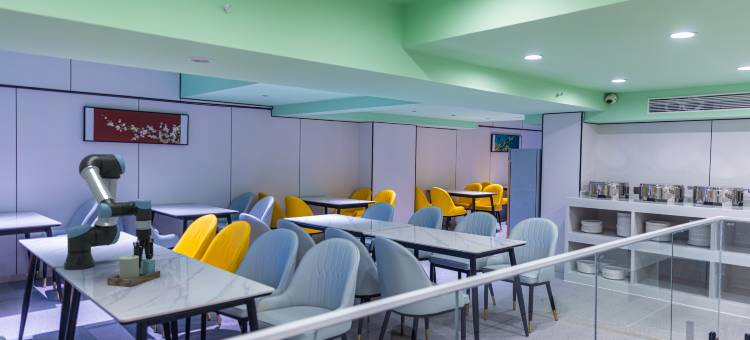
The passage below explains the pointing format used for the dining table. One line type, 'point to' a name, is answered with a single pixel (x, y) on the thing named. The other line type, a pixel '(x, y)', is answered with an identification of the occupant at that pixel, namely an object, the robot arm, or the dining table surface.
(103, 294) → the dining table surface
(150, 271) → the wing block
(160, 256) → the dining table surface
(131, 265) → the can
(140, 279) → the cradle jig
